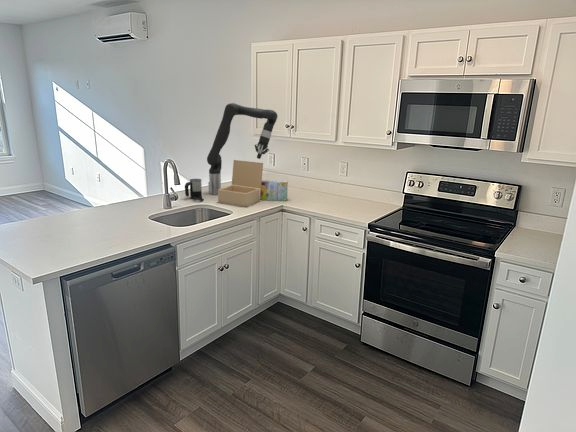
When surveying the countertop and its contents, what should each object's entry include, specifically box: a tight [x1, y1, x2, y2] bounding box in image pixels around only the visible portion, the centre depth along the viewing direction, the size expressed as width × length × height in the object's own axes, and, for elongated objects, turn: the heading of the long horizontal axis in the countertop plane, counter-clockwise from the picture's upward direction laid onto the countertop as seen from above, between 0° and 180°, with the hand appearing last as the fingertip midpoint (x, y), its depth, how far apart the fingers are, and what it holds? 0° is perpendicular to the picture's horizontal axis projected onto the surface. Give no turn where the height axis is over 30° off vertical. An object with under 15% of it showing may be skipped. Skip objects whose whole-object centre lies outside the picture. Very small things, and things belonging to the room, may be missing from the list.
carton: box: [217, 184, 260, 208], centre depth 296 cm, size 25×19×10 cm
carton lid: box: [231, 159, 264, 189], centre depth 302 cm, size 26×20×1 cm
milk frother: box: [184, 178, 205, 202], centre depth 300 cm, size 14×16×15 cm
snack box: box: [260, 179, 289, 202], centre depth 305 cm, size 21×6×15 cm, turn 84°
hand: (258, 158), depth 297 cm, fingers closed
